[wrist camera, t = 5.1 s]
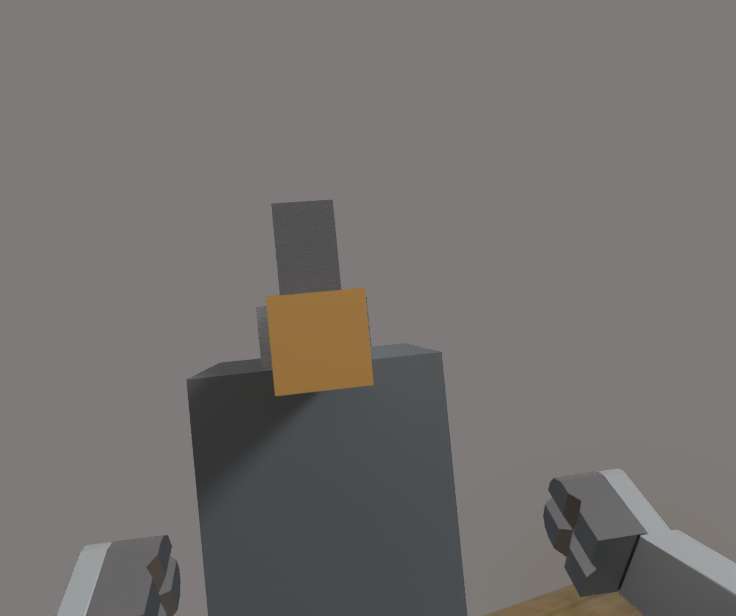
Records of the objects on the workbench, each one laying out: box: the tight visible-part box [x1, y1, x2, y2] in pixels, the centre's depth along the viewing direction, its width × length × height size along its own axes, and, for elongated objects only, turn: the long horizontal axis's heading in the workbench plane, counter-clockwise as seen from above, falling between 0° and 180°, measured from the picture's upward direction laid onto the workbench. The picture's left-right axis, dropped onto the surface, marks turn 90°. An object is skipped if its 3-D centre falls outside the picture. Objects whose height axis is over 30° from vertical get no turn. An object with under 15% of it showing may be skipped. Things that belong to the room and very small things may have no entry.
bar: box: [266, 200, 374, 396], centre depth 24 cm, size 3×18×8 cm, turn 7°
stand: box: [187, 297, 467, 616], centre depth 28 cm, size 18×9×29 cm, turn 97°
